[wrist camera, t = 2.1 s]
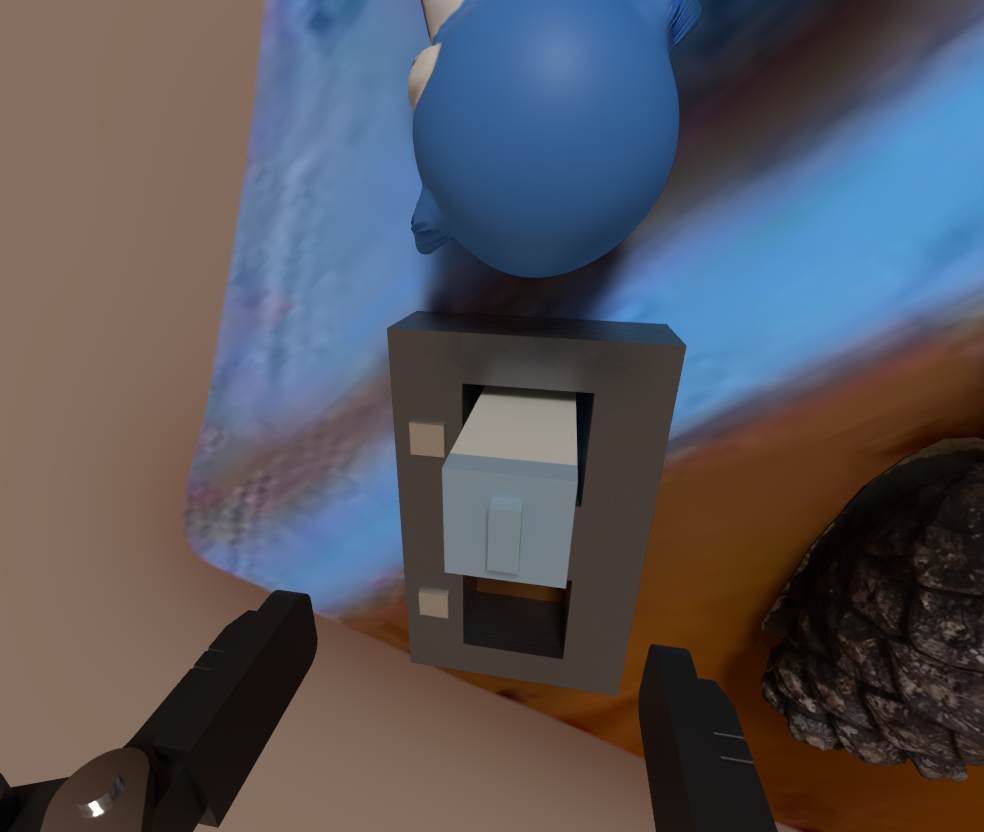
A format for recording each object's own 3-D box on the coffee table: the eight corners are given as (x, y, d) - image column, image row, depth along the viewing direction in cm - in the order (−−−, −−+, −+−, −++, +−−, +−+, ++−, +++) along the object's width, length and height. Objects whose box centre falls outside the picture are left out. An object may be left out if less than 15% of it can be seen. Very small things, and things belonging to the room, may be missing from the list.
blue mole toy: (567, -170, 15) (562, -563, 8) (734, 149, 18) (853, 94, 10) (332, 98, 20) (178, 18, 12) (495, 323, 22) (454, 376, 15)
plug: (575, 377, 23) (577, 492, 13) (567, 451, 24) (565, 602, 15) (492, 371, 23) (436, 477, 14) (490, 444, 25) (439, 585, 15)
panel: (666, 324, 21) (687, 347, 17) (611, 636, 29) (617, 699, 25) (416, 311, 23) (385, 329, 19) (430, 609, 31) (409, 665, 27)
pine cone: (715, 644, 28) (785, 847, 19) (905, 387, 20) (1172, 520, 11) (880, 700, 28) (1031, 935, 19) (1134, 461, 20) (1598, 658, 11)
